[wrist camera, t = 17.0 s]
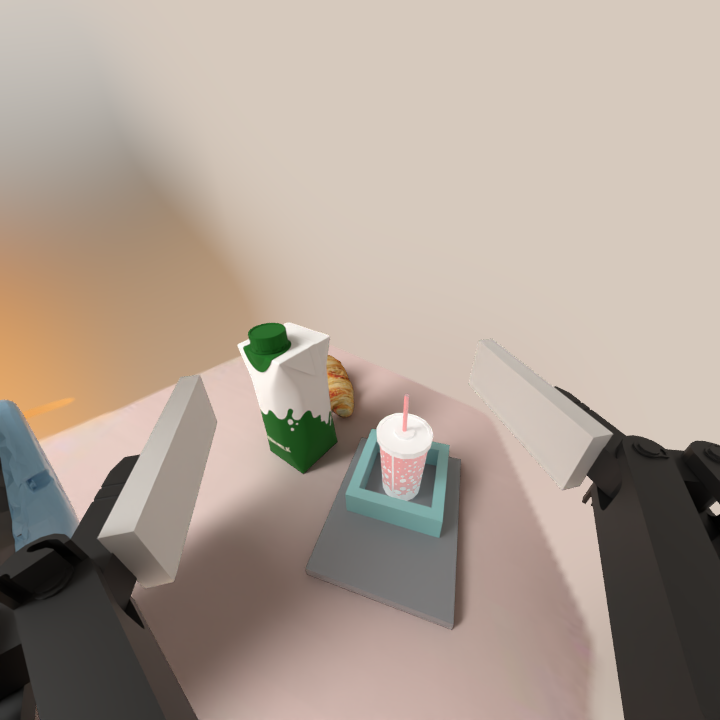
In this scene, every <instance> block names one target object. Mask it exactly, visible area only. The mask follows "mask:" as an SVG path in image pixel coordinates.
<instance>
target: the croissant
mask: <svg viewBox="0 0 720 720" xmlns="http://www.w3.org/2000/svg"><path fill="white" fill-rule="evenodd" d="M326 368H327V377H328V387H329V396H330V405H331V410H333V411H334V412H335V413H336V414H337V415H340V416H343V417H348V416H350V415H351V414H352V413H353V408H354V398H353V394H354V391H353V387H352V384H351V382H350V380H349V379H348V375H347V373H346V371H345V369H344V367H343V366H342V365H341V362H340V361H338V360H337V359H335V358H334V357H332V356H330V355H328V356H327V364H326Z"/></svg>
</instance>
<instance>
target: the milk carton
mask: <svg viewBox="0 0 720 720" xmlns="http://www.w3.org/2000/svg"><path fill="white" fill-rule="evenodd" d="M248 336H249V339H248V340H246V341H244V342H242V343H240V344H238V348H239V350H240V353H241V355H242V357H243V360H244V362H245V364H246V366H247V369H248V371H249V373H250V376H251V378H252V381H253V385H254V388H255V392H256V395H257V399H258V403H259V406H260V410H261V414H262V417H263V421H264V425H265V428H266V432H267V437H268V441H269V445H270V450H271V451H272V452H273V453H275V454H276V455H277V456H279V457H280V458H282V459H283V460H284V461H286V462H287V463H289V464H290V465H291V466H293V467H294V468H296V469H297V470H298V471H300V472H301V473H303V474H304V473H305V472H306V471H307V470H308V469H309V468H310V467H311V466H312V465H313V464H314V463H315V462H316V461H317V460H318V459H320V458H321V457H322V456H323V455H324V454H325V453H326V452H327V451H328V450H329V449H330V448H331V447H332V446H333V445H334V444H335V443H336V442H337V437H336V433H335V428H334V423H333V419H332V414H331V405H330V396H329V387H328V377H327V368H326V364H327V356H328V348H329V340H330V336H329V335H326V334H323V333H320V332H317V331H314V330H311V329H308V328H305V327H302V326H299V325H296V324H293V323H290V322H288V323H285V324H283V325H282V324H279V323H266V324H261V325H258V326H255V327H253V328H252V329H250V331H249V332H248Z"/></svg>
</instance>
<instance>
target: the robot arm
mask: <svg viewBox="0 0 720 720" xmlns="http://www.w3.org/2000/svg"><path fill="white" fill-rule="evenodd" d="M468 384H469V385H470V387H471V388H472V389H473V390H474V391H475V392H476V393H477V395H478V396H479V397H480V398H481V399H482V400H483V401H484V402H485V404H486V405H488V407H489V408H490V409H491V410H492V411H493V413H494V414H495V415H496V416H497V417H498V418H499V419H500V420H501V422H502V423H503V424H504V425H505V426H506V427H507V428H508V429H509V431H510V432H511V433H512V434H513V435H514V436H515V438H516V439H517V440H518V441H519V442H520V443H521V444H522V445H523V447H524V448H525V449H526V450H527V451H528V452H529V453H530V454H531V456H532V457H533V458H534V459H535V460H536V461H537V462H538V464H539V465H540V466H541V467H542V468H543V469H544V470H545V471H546V472H547V473H548V475H549V476H550V477H551V478H552V479H553V481H555V482H556V484H557V485H558V486H559V487H560V488H561V489H562V490H565V489H570V488H573V487H578V486H580V485H581V483H582V482H583V480H584V479H585V477H586V475H587V476H588V477H589V478H590V479H591V480H592V481H593V484H592V485H591V486H590V488H589V490H588V491H587V492H586V494H585V495H584V497H583V500H582V502H583V503H585V504H586V502H587V501H588V500H589V498H590V497H592V504H591V506H593V509H594V517H595V523H596V530H597V537H598V544H599V551H600V557H601V564H602V570H603V578H604V584H605V591H606V597H607V605H608V611H609V618H610V625H611V632H612V638H613V645H614V651H615V659H616V664H617V672H618V679H619V685H620V692H621V699H622V705H623V712H624V719H625V720H720V514H719V515H718V516H716V515H715V514H714V513H712V511H711V510H710V509H709V507H710V506H711V505H713V504H714V503H715V502H716V501H718V502H719V504H720V445H717V444H714V443H710V442H706V441H695V442H692V443H691V444H690V445H689V446H688V447H687V449H686V450H685V451H679V450H668V449H665V448H663V447H662V446H660V445H659V444H657V443H655V442H654V441H652V440H649V439H646V438H644V437H639V436H634V435H632V436H626V435H624V434H623V433H622V432H620V431H619V430H618V429H616V428H615V427H614V426H613V425H611V424H610V423H609V422H607V421H606V420H605V419H603V418H602V417H601V416H599V415H598V414H597V413H595V412H594V411H592V410H590V408H589V407H587V406H586V405H585V404H584V403H581V402H580V400H578V399H577V398H576V397H574V396H573V395H572V394H570V393H569V392H567V391H565V390H563V389H560V388H558V387H556V386H555V387H553V386H552V385H551V384H549V383H548V382H547V381H545V380H544V379H543V378H541V377H540V376H539V375H538V374H536V373H535V372H534V371H533V370H531V369H530V368H529V367H528V366H526V365H525V364H524V363H522V362H521V361H520V360H519V359H517V358H516V357H515V356H513V355H512V354H511V353H510V352H508V351H507V350H506V349H504V348H503V347H502V346H501V345H499V344H498V343H497V342H495V341H494V340H493V339H486V340H479V341H478V345H477V349H476V354H475V358H474V362H473V366H472V370H471V375H470V379H469V383H468ZM216 425H217V419H216V417H215V414H214V411H213V409H212V406H211V403H210V401H209V398H208V395H207V393H206V390H205V387H204V384H203V382H202V379H201V376H200V375H193V376H186V377H180V379H179V381H178V383H177V385H176V387H175V389H174V390H173V392H172V394H171V396H170V398H169V400H168V402H167V404H166V406H165V408H164V410H163V412H162V414H161V416H160V418H159V420H158V422H157V423H156V425H155V427H154V429H153V431H152V433H151V435H150V437H149V439H148V441H147V443H146V445H145V447H144V449H143V451H142V453H141V455H135V456H129V457H124V458H123V459H122V460H121V461H120V462H119V463H118V464H117V465H116V466H115V467H114V468H113V469H112V470H111V471H110V473H109V474H108V476H107V478H106V479H105V481H104V483H103V484H102V486H101V487H102V488H101V489H100V490H99V491H98V493H97V495H96V496H95V498H94V502H92V503H91V505H90V507H89V508H88V510H87V512H86V513H85V515H84V517H83V518H82V520H81V522H80V523H79V520H78V518H77V515H76V513H75V511H74V509H73V507H72V505H71V503H70V501H69V499H68V497H67V495H66V493H65V491H64V489H63V487H62V485H61V483H60V481H59V479H58V477H57V476H56V474H55V472H54V470H53V468H52V466H51V464H50V462H49V460H48V459H47V457H46V455H45V453H44V451H43V449H42V448H41V446H40V444H39V442H38V440H37V438H36V437H35V435H34V433H33V431H32V429H31V428H30V426H29V424H28V422H27V421H26V419H25V417H24V415H23V414H22V412H21V411H20V409H19V408H18V407H17V405H16V404H15V403H14V402H12V401H9V400H0V720H34V719H35V708H36V706H37V710H38V714H39V719H40V720H198V718H197V717H196V715H195V713H194V711H193V709H192V707H191V705H190V703H189V702H188V700H187V698H186V696H185V694H184V692H183V690H182V688H181V687H180V685H179V683H178V681H177V679H176V677H175V675H174V673H173V672H172V670H171V668H170V666H169V664H168V662H167V660H166V658H165V657H164V655H163V653H162V651H161V649H160V647H159V645H158V643H157V642H156V640H155V638H154V636H153V634H152V632H151V630H150V628H149V627H148V625H147V623H146V621H145V619H144V617H143V615H142V613H141V612H140V610H139V608H138V606H137V604H136V602H135V600H134V599H133V598H132V597H131V594H132V591H133V588H134V585H135V583H136V580H137V581H138V582H139V583H140V584H141V585H142V586H143V587H144V588H145V589H146V588H150V587H154V586H159V585H163V584H167V583H171V582H174V580H175V577H176V573H177V569H178V566H179V562H180V558H181V555H182V551H183V547H184V544H185V540H186V536H187V532H188V529H189V525H190V521H191V518H192V514H193V510H194V507H195V503H196V499H197V496H198V492H199V488H200V484H201V481H202V477H203V473H204V470H205V466H206V462H207V459H208V455H209V451H210V448H211V444H212V440H213V436H214V433H215V429H216Z"/></svg>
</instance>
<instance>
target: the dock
mask: <svg viewBox="0 0 720 720" xmlns="http://www.w3.org/2000/svg"><path fill="white" fill-rule="evenodd" d="M448 456H449V445H446V444H441V443H436V442H432V444H431V447H430V449H429V450H428V452H427V456H426V461H425V465H424V470H423V474H422V479H421V483H420V488H419V491H418V494H417V495H416V496H415V497H414V498H412V499H410V500H408V501H405V500H402V499H398V498H394V497H391V496H389V495H387V494H386V492H385V490H384V488H383V481H382V468H381V455H380V445H379V444H378V442H377V431H376V430H375V429H371V432H370V434H369V437H368V439H367V438H363V437H362V438H361V440H360V443H359V445H358V447H357V450H356V452H355V454H354V457H353V459H352V461H351V464H350V466H349V468H348V471H347V473H346V475H345V478H344V480H343V482H342V485H341V487H340V489H339V492H338V494H337V496H336V498H335V501H334V503H333V505H332V508H331V510H330V512H329V515H328V517H327V519H326V522H325V524H324V526H323V529H322V531H321V533H320V536H319V538H318V540H317V543H316V545H315V547H314V550H313V552H312V554H311V557H310V559H309V561H308V564H307V566H306V568H305V569H306V573H307V574H308V575H310V576H313V577H315V578H318V579H321V580H323V581H326V582H328V583H331V584H334V585H336V586H339V587H341V588H344V589H347V590H349V591H352V592H354V593H357V594H360V595H362V596H365V597H367V598H370V599H373V600H375V601H378V602H380V603H383V604H386V605H388V606H391V607H393V608H396V609H399V610H401V611H404V612H406V613H409V614H412V615H414V616H417V617H420V618H422V619H425V620H427V621H430V622H433V623H435V624H438V625H440V626H443V627H446V628H448V629H451V630H452V628H453V625H454V603H455V580H456V558H457V535H458V512H459V490H460V467H461V459H457V458H452V457H448Z"/></svg>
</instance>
